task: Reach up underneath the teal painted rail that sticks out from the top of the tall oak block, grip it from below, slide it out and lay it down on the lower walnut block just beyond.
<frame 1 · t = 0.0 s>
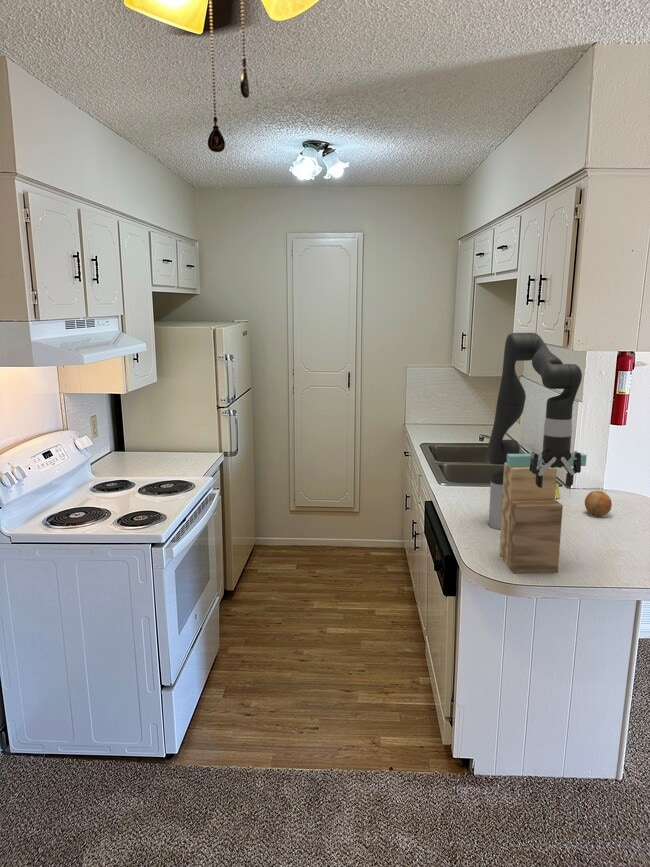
hand: (553, 486, 176), 29 cm above the countertop, tool pointing down, fingers open, 8 cm apart
rail: (545, 465, 189), point 32 cm above the countertop, touching stand
plastic component: (532, 496, 261), on the countertop
onion: (597, 515, 235), on the countertop
stand: (524, 559, 196), on the countertop
step: (532, 569, 188), on the countertop
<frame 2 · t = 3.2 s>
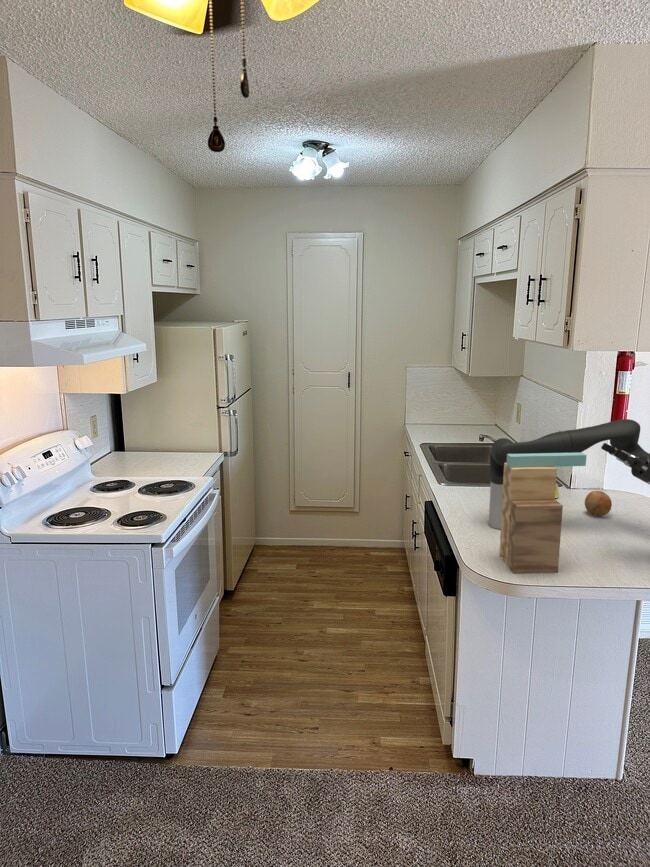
hand: (609, 448, 188), 37 cm above the countertop, tool pointing upward, fingers open, 8 cm apart
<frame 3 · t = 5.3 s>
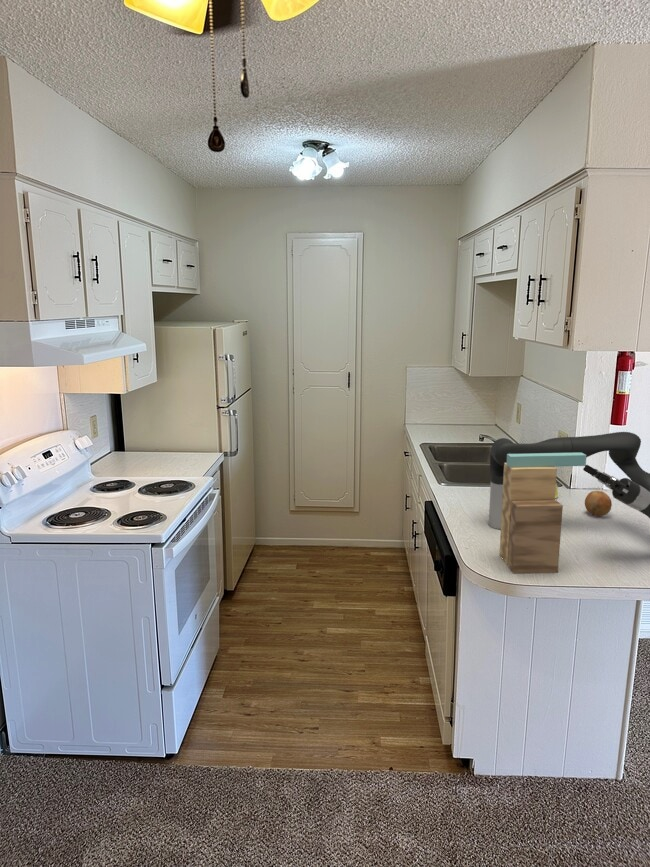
hand: (590, 470, 190), 30 cm above the countertop, tool pointing upward, fingers open, 8 cm apart
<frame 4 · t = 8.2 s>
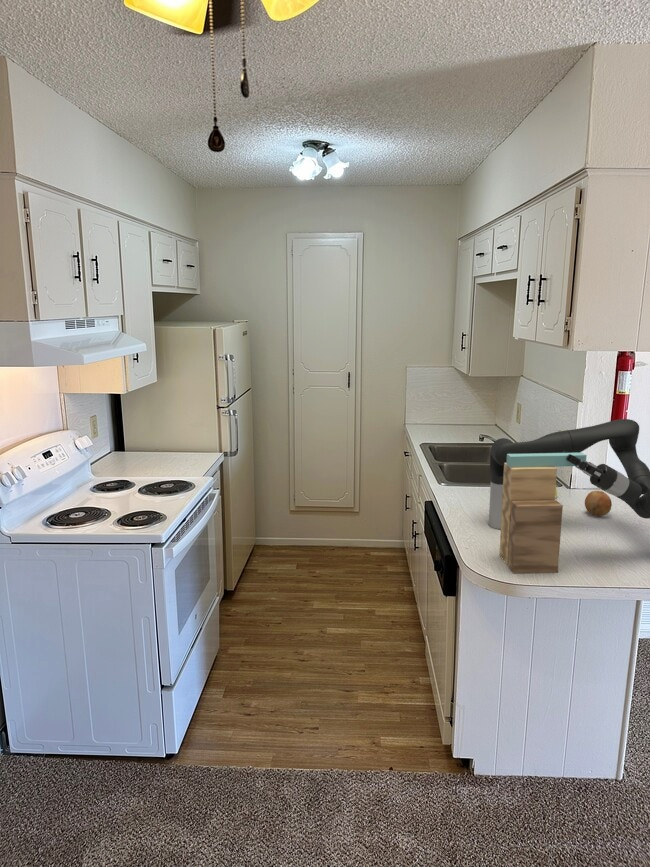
hand: (565, 455, 188), 35 cm above the countertop, tool pointing upward, fingers closed on rail, 3 cm apart
rail: (545, 465, 189), point 32 cm above the countertop, touching gripper, stand
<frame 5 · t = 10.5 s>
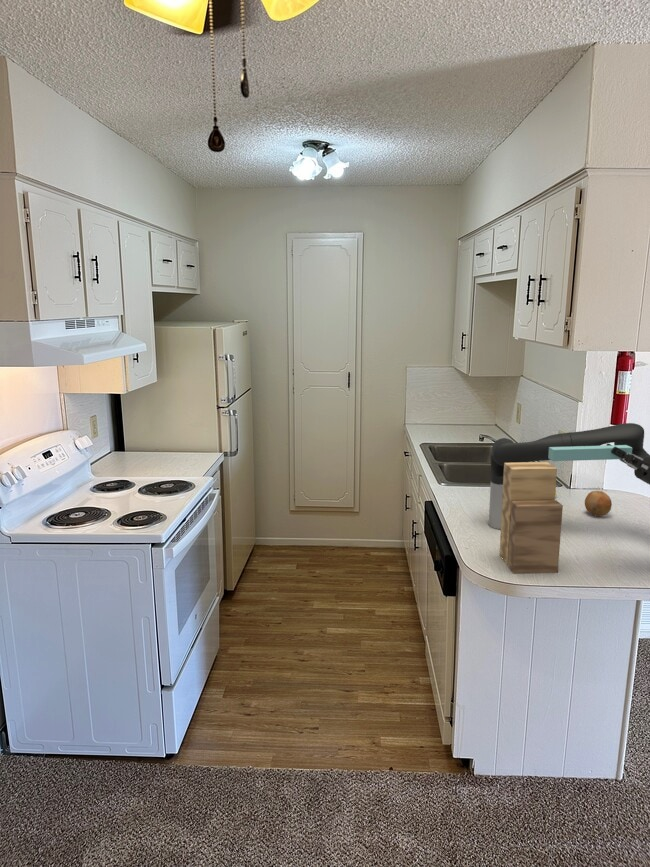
hand: (609, 448, 181), 39 cm above the countertop, tool pointing upward, fingers closed on rail, 3 cm apart
rail: (589, 458, 181), point 36 cm above the countertop, touching gripper
when the fingers open (27 cm above the countertop, at t = 13.3 s): rail drops 2 cm, resting on step.
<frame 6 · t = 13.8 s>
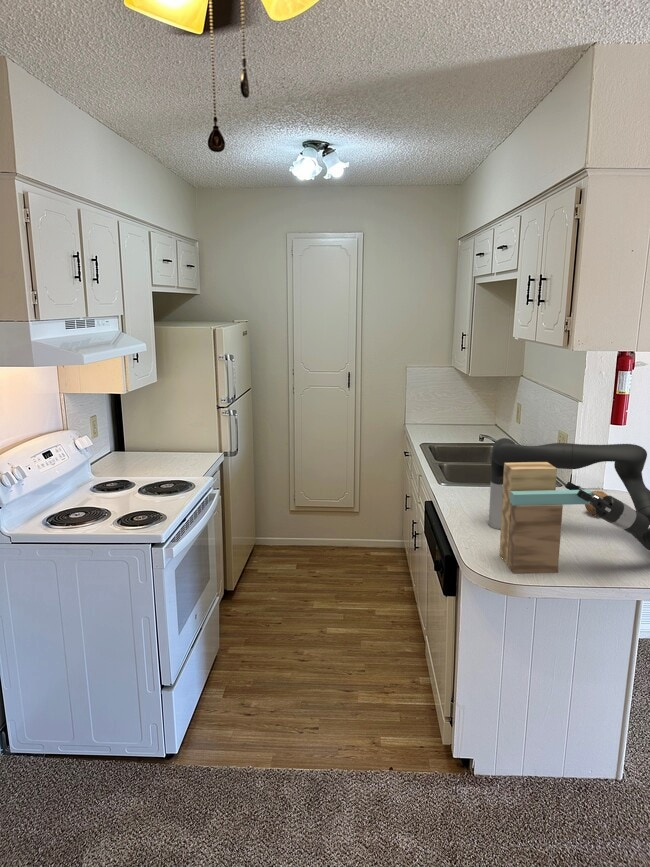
hand: (572, 488, 183), 27 cm above the countertop, tool pointing upward, fingers open, 8 cm apart
rail: (550, 503, 184), point 22 cm above the countertop, touching step
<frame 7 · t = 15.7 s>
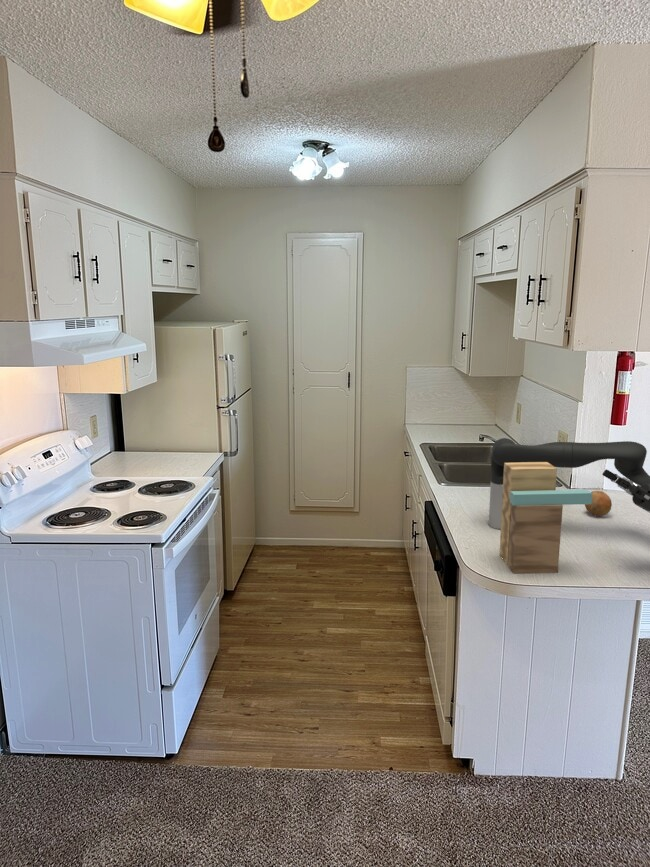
hand: (610, 475, 183), 30 cm above the countertop, tool pointing upward, fingers open, 8 cm apart
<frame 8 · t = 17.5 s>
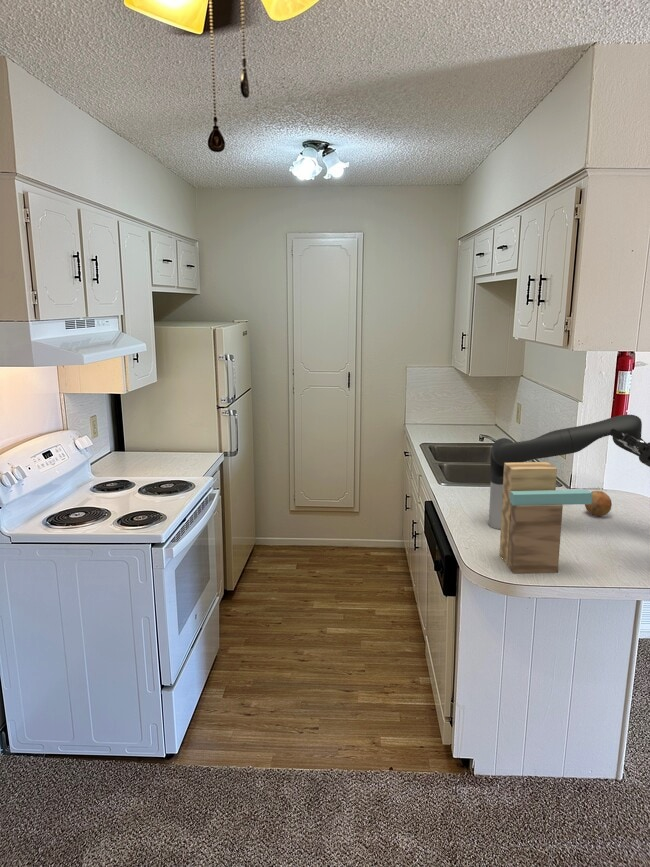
hand: (617, 433, 182), 43 cm above the countertop, tool pointing upward, fingers open, 8 cm apart
at the end: rail inside the target area (0.6 cm from its centre), point 22.0 cm above the countertop; rail touching step; the gripper is holding nothing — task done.
